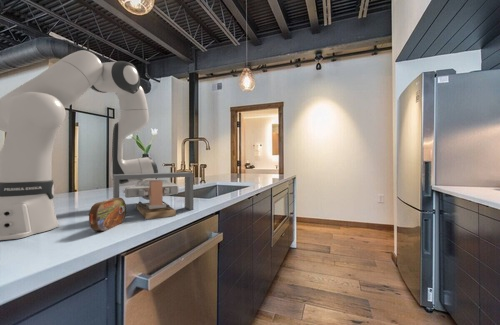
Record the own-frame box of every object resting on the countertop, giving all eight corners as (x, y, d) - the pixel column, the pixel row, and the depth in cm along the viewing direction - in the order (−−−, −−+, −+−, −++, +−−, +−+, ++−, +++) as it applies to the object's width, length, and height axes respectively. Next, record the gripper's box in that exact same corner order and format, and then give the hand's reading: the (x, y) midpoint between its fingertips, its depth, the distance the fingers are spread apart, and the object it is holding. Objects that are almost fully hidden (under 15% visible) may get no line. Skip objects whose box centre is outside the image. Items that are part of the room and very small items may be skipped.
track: (146, 219, 81) (146, 211, 81) (137, 208, 99) (136, 201, 99) (175, 215, 86) (175, 207, 86) (161, 206, 104) (161, 199, 104)
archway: (114, 219, 82) (114, 175, 81) (113, 215, 87) (113, 174, 87) (193, 209, 97) (193, 172, 97) (188, 207, 102) (188, 172, 102)
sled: (149, 209, 87) (149, 181, 87) (145, 206, 93) (145, 180, 92) (166, 207, 90) (166, 181, 90) (161, 204, 96) (161, 179, 96)
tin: (97, 234, 64) (97, 204, 64) (86, 234, 65) (86, 204, 64) (127, 220, 80) (127, 195, 79) (118, 220, 80) (118, 195, 80)
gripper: (122, 182, 96) (125, 186, 85) (173, 180, 107) (182, 183, 96) (122, 198, 96) (125, 203, 85) (173, 194, 107) (182, 198, 96)
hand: (156, 192), depth 90 cm, fingers open, 6 cm apart
